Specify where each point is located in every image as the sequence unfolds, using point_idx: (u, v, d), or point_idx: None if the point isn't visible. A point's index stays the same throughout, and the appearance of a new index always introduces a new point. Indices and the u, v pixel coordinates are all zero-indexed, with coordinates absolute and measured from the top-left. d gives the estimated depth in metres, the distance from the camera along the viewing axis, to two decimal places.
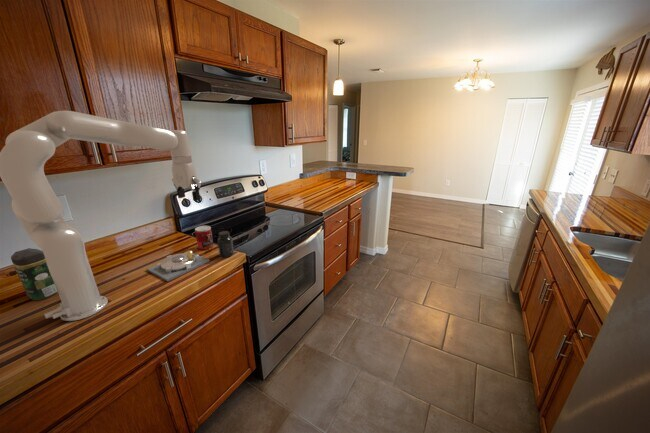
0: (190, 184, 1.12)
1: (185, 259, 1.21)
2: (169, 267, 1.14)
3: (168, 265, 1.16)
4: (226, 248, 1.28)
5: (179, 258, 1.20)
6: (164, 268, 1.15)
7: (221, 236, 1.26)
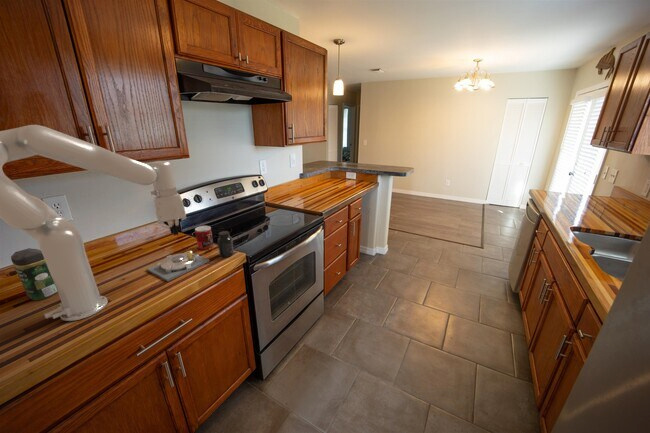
0: (185, 213, 1.10)
1: (185, 259, 1.21)
2: (169, 267, 1.14)
3: (168, 265, 1.16)
4: (226, 248, 1.28)
5: (179, 258, 1.20)
6: (164, 268, 1.15)
7: (221, 236, 1.26)
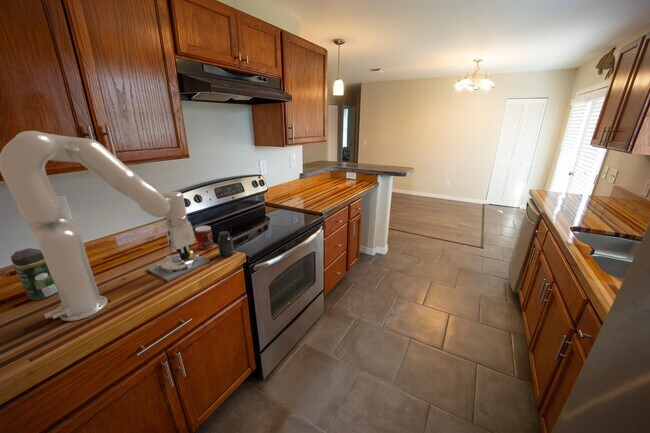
0: None
1: None
2: (170, 267, 1.14)
3: (169, 265, 1.16)
4: (226, 248, 1.28)
5: (179, 258, 1.20)
6: (165, 268, 1.15)
7: (221, 236, 1.26)
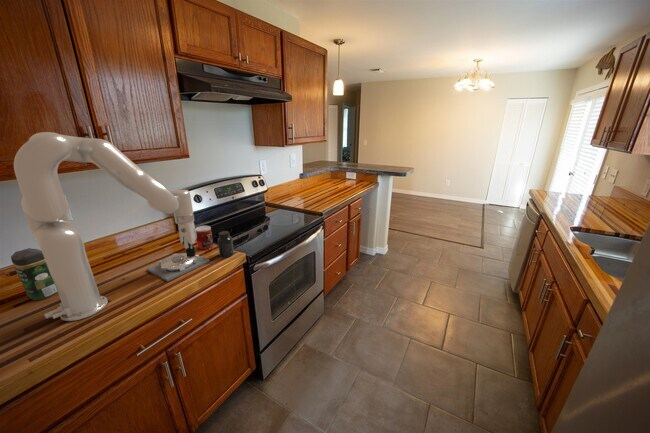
0: None
1: (185, 257, 1.23)
2: (181, 265, 1.16)
3: (176, 265, 1.16)
4: (226, 248, 1.28)
5: (179, 257, 1.21)
6: (175, 268, 1.15)
7: (221, 236, 1.26)
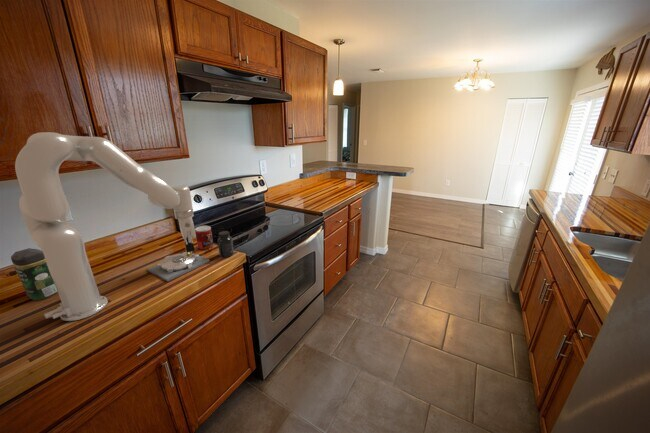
0: None
1: None
2: (188, 262, 1.18)
3: (182, 263, 1.17)
4: (226, 248, 1.28)
5: (179, 257, 1.21)
6: (182, 266, 1.16)
7: (221, 236, 1.26)
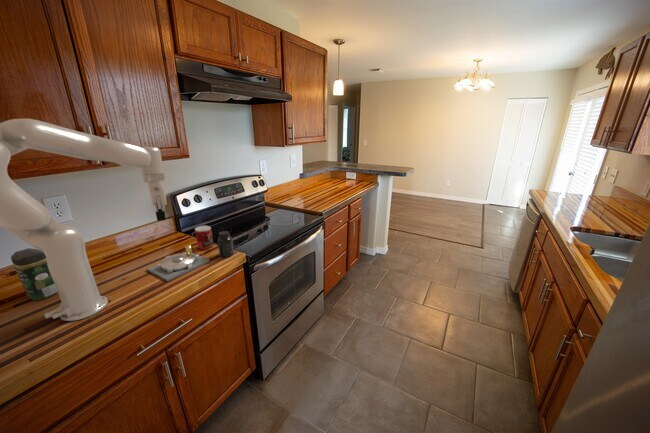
0: None
1: None
2: (188, 262, 1.18)
3: (182, 263, 1.17)
4: (226, 248, 1.28)
5: (179, 257, 1.21)
6: (182, 266, 1.16)
7: (221, 236, 1.26)
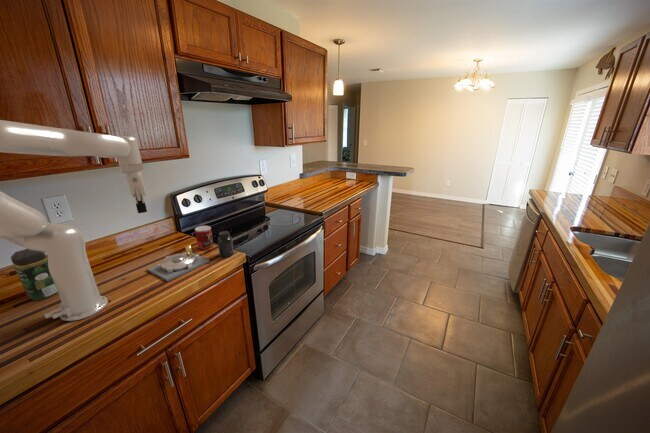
0: None
1: None
2: (188, 262, 1.18)
3: (182, 263, 1.17)
4: (226, 248, 1.28)
5: (179, 257, 1.21)
6: (182, 266, 1.16)
7: (221, 236, 1.26)
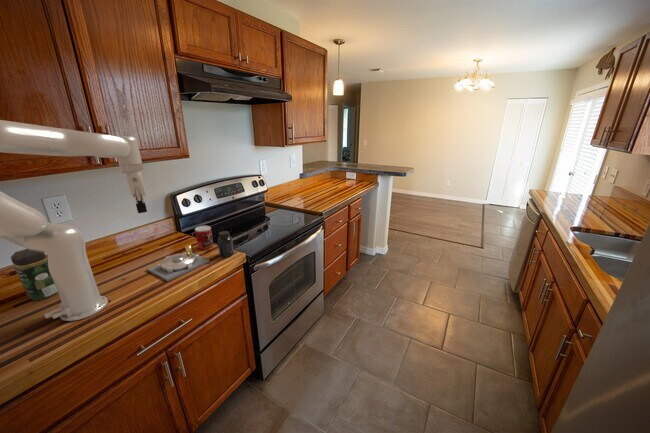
0: None
1: None
2: (188, 262, 1.18)
3: (182, 263, 1.17)
4: (226, 248, 1.28)
5: (179, 257, 1.21)
6: (182, 266, 1.16)
7: (221, 236, 1.26)
